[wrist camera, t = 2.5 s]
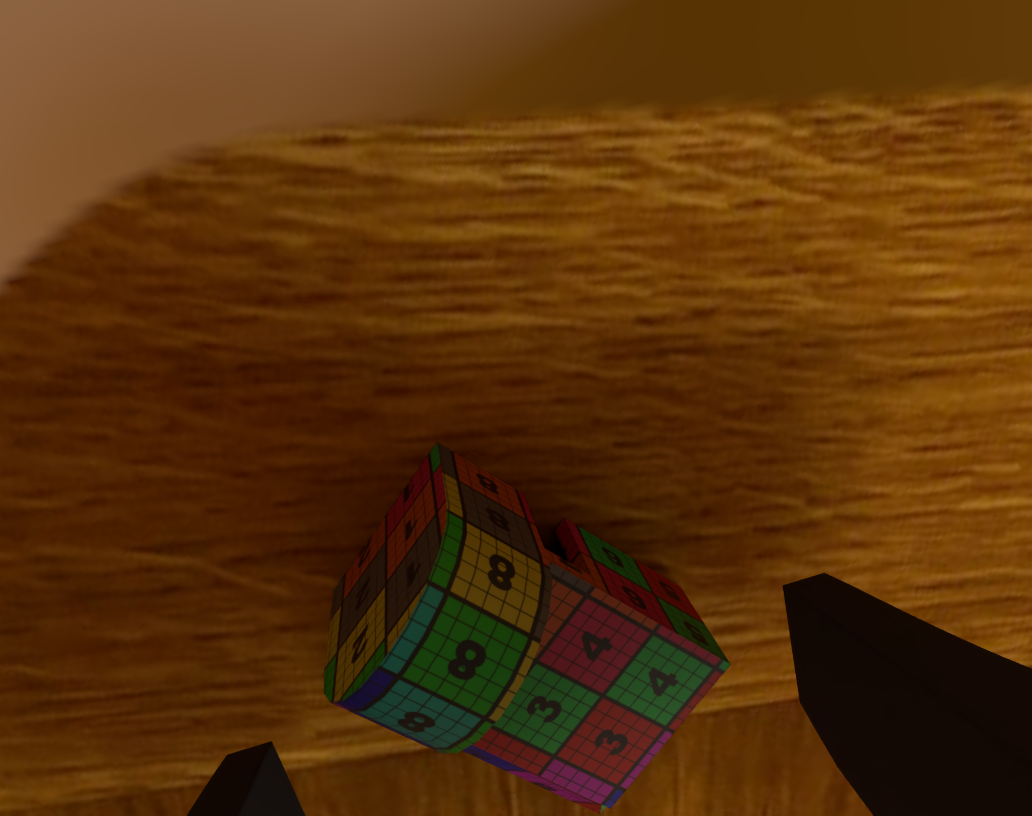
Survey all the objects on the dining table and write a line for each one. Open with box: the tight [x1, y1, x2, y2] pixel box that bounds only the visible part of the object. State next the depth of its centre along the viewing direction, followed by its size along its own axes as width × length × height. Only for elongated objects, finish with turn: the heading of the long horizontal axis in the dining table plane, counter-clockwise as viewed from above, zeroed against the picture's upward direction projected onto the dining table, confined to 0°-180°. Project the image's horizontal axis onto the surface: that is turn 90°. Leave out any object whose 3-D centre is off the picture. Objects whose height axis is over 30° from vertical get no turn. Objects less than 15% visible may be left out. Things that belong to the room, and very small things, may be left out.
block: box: [324, 443, 731, 814], centre depth 11 cm, size 6×4×3 cm
